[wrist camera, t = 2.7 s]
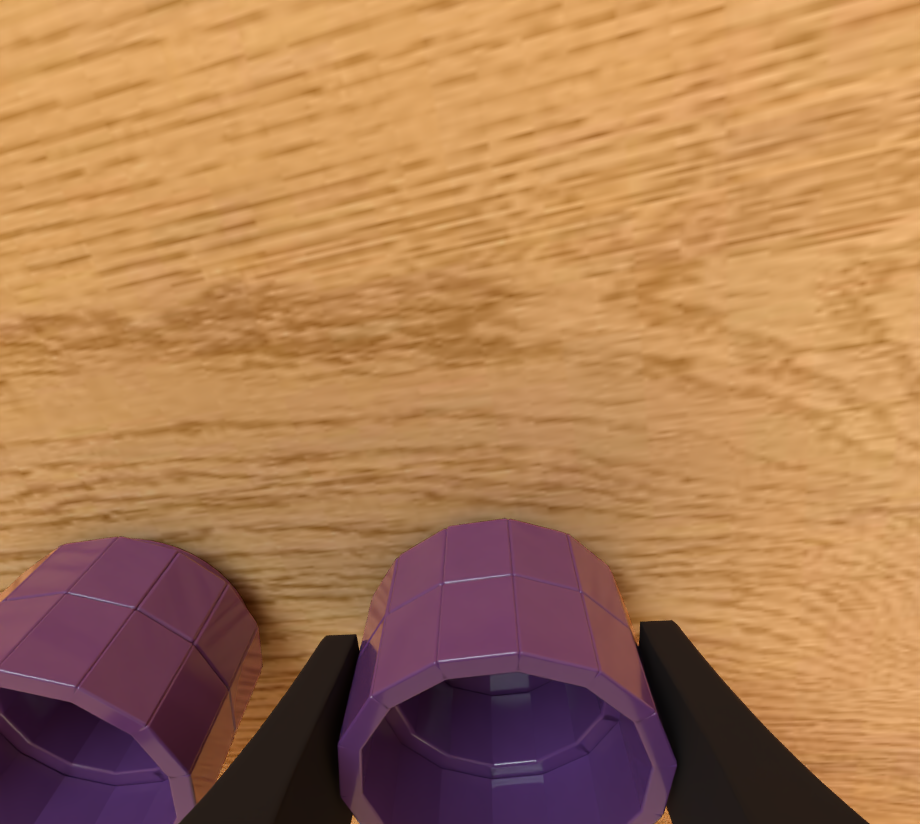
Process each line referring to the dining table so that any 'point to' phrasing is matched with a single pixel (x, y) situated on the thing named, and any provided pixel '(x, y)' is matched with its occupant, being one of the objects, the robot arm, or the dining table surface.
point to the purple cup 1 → (119, 683)
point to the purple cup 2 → (502, 689)
